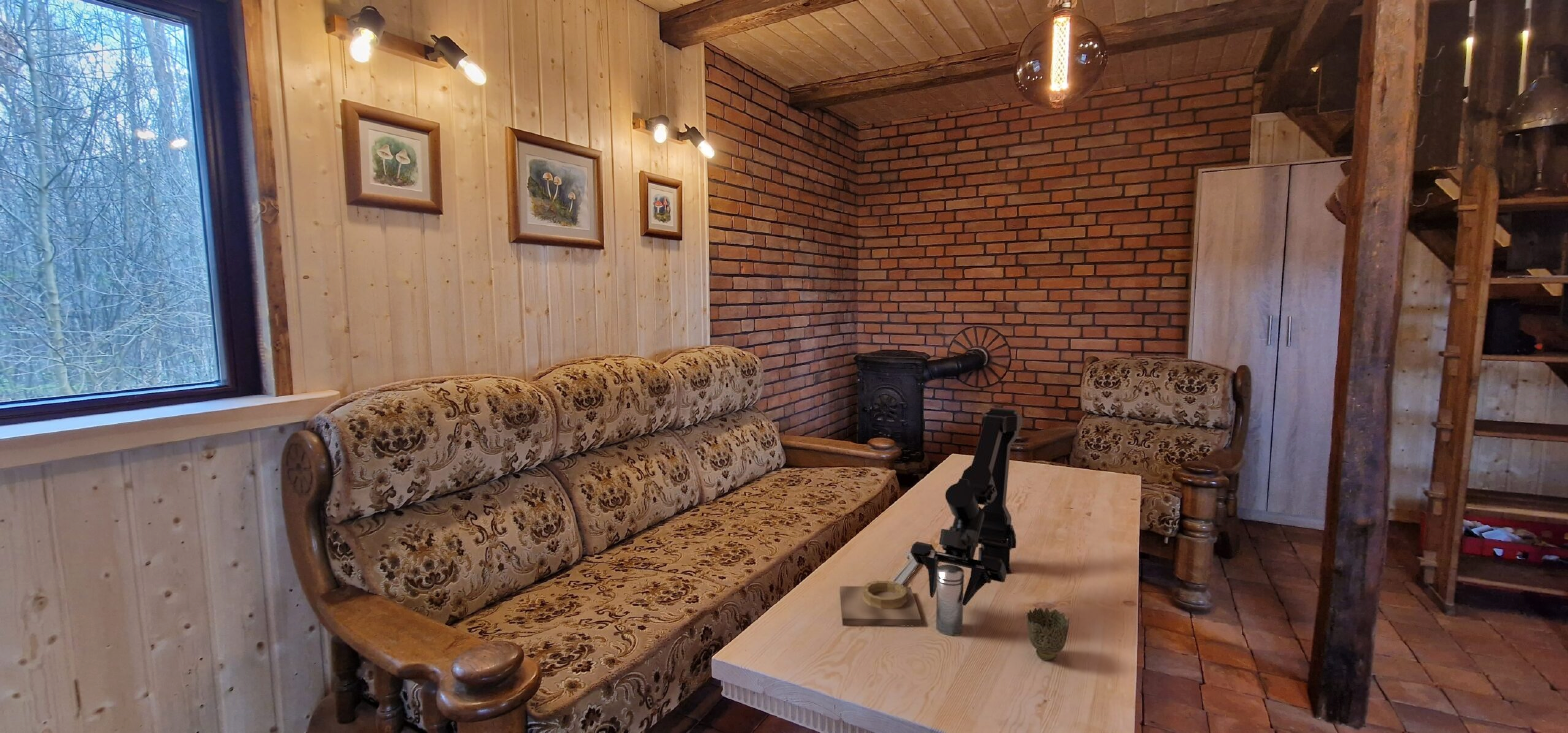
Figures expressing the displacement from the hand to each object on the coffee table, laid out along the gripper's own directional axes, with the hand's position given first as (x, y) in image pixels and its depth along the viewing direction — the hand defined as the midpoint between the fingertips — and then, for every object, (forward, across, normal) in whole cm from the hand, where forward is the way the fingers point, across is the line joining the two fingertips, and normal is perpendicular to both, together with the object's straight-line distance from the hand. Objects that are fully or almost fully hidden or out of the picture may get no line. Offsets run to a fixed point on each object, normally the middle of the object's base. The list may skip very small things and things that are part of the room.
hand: (947, 600), depth 135 cm
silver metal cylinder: (+4, 0, +6) cm, 7 cm away
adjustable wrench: (-12, -18, +22) cm, 31 cm away
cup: (+4, +19, +5) cm, 20 cm away
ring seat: (+3, -16, +6) cm, 17 cm away
